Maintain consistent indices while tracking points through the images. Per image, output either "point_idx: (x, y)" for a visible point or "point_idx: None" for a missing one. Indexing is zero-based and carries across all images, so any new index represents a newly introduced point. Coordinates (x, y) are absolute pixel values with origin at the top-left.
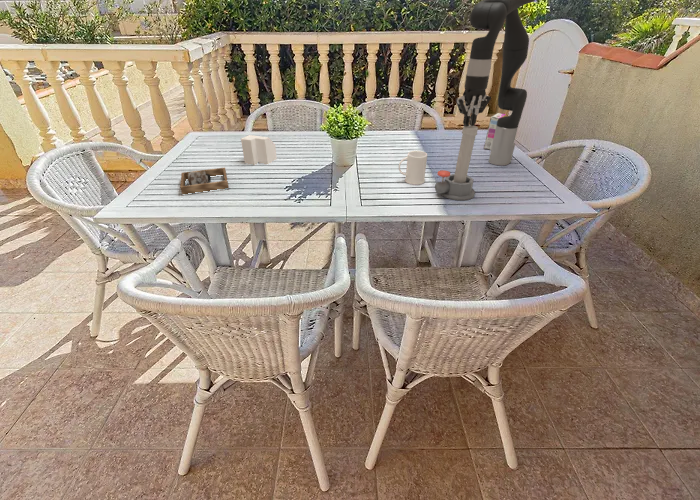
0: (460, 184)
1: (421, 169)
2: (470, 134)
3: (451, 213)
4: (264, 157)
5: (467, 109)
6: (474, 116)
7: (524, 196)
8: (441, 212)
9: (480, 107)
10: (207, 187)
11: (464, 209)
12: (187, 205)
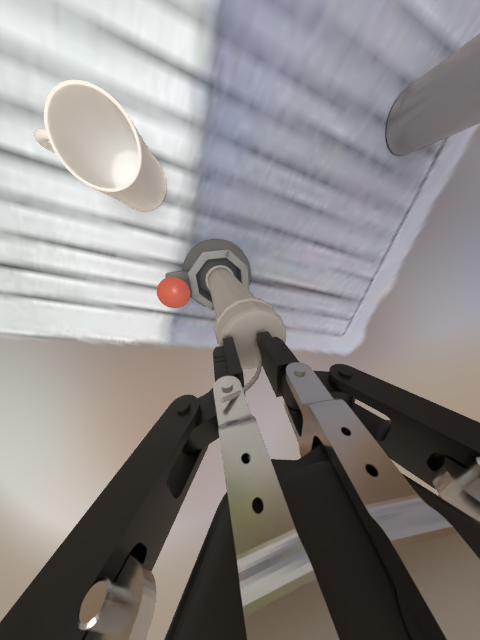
0: (210, 307)
1: (133, 201)
2: None
3: (178, 342)
4: None
5: (244, 415)
6: (275, 393)
7: (314, 309)
8: (162, 337)
9: (373, 391)
10: None
11: (204, 333)
12: None
